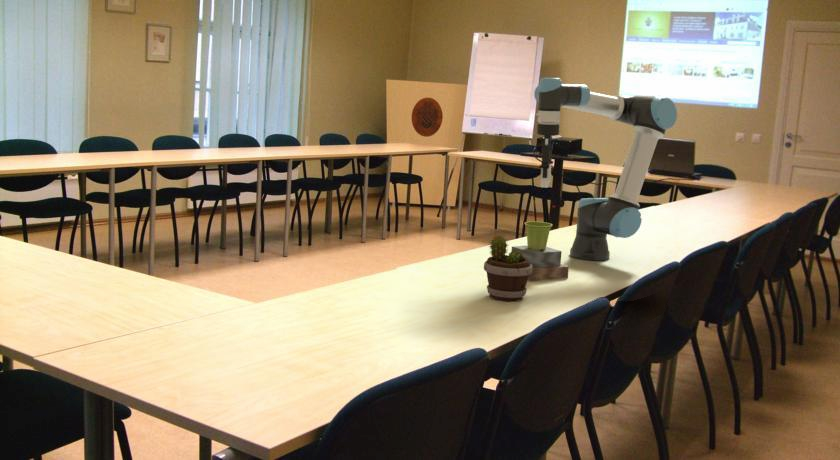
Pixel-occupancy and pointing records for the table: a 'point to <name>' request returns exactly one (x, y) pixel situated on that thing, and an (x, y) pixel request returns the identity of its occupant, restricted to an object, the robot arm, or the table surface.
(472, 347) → the table surface
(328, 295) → the table surface
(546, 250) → the pedestal
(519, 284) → the flowerpot
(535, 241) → the plant pot
